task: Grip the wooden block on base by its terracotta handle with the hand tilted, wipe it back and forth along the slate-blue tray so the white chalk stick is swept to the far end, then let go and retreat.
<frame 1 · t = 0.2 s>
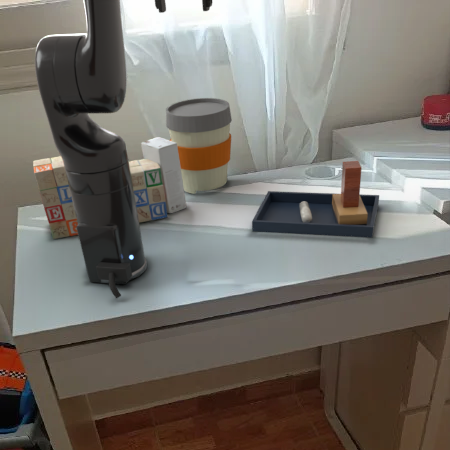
hand: (184, 11, 112), 29 cm above the table, tool pointing down, fingers open, 8 cm apart
cosmetic box: (168, 208, 116), on the table, touching stack of blocks
reusable coffee cup: (204, 186, 124), on the table
stack of blocks: (109, 223, 113), on the table, touching cosmetic box
tray: (316, 222, 107), on the table
chalk: (305, 217, 107), point 1 cm above the table, touching tray
wooden block on base: (348, 219, 105), point 1 cm above the table, touching tray
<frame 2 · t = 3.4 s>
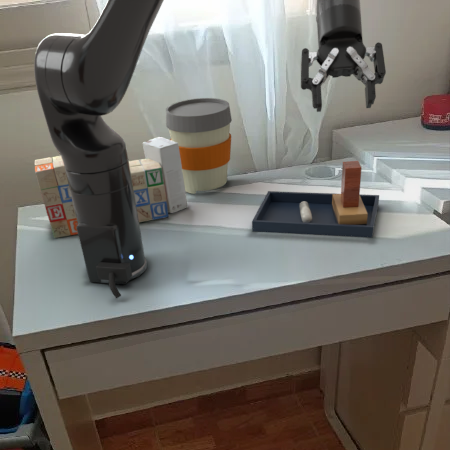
hand: (344, 107, 104), 16 cm above the table, tool tilted 45°, fingers open, 8 cm apart
nothing on the table moved.
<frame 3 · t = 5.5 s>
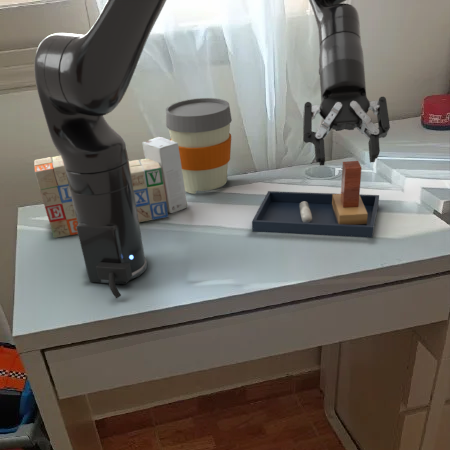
hand: (347, 161, 102), 9 cm above the table, tool tilted 45°, fingers open, 8 cm apart
stack of blocks: (110, 222, 113), on the table, touching cosmetic box
everything else where it was.
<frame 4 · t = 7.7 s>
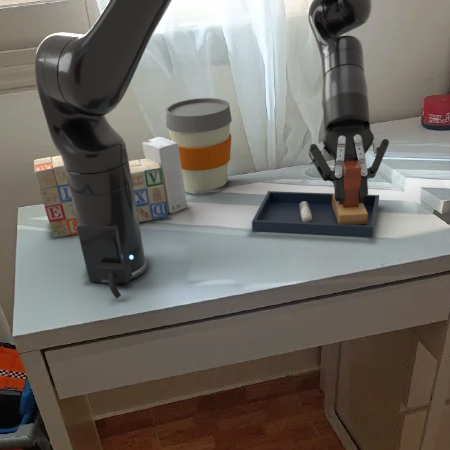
hand: (351, 201, 101), 5 cm above the table, tool tilted 45°, fingers closed on wooden block on base, 2 cm apart
stack of blocks: (109, 222, 113), on the table, touching cosmetic box
wooden block on base: (348, 219, 105), point 1 cm above the table, touching gripper, tray
everything else where it was.
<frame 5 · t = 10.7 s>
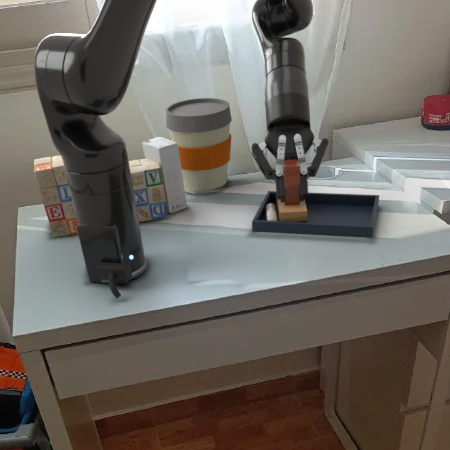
hand: (292, 199, 103), 5 cm above the table, tool tilted 45°, fingers closed on wooden block on base, 2 cm apart
stack of blocks: (109, 222, 113), on the table, touching cosmetic box
chalk: (273, 218, 107), point 1 cm above the table, tilted 20°, touching tray
wooden block on base: (291, 216, 107), point 1 cm above the table, touching gripper
everything else where it was.
when the fingers open (5 cm above the table, at t = 14.1 s): wooden block on base stays where it is, resting on tray.
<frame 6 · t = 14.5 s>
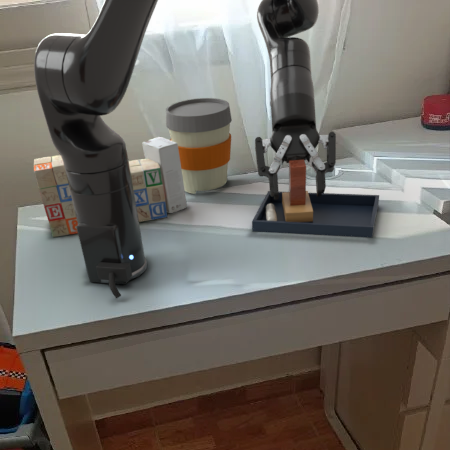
hand: (298, 196, 103), 5 cm above the table, tool tilted 45°, fingers open, 6 cm apart
stack of blocks: (109, 222, 113), on the table, touching cosmetic box
wooden block on base: (297, 216, 107), point 1 cm above the table, touching tray
everything else where it was.
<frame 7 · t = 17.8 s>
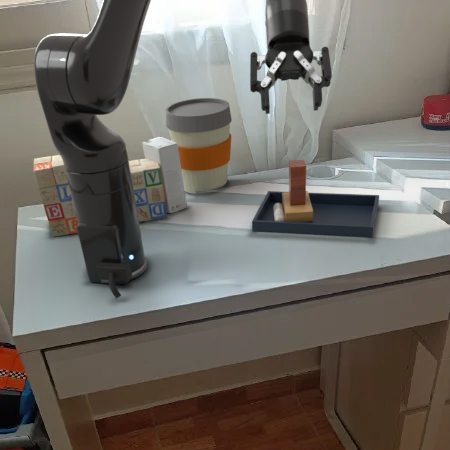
hand: (292, 109, 107), 15 cm above the table, tool tilted 45°, fingers open, 8 cm apart
chalk: (274, 216, 107), point 1 cm above the table, tilted 65°, touching tray
everything else where it was.
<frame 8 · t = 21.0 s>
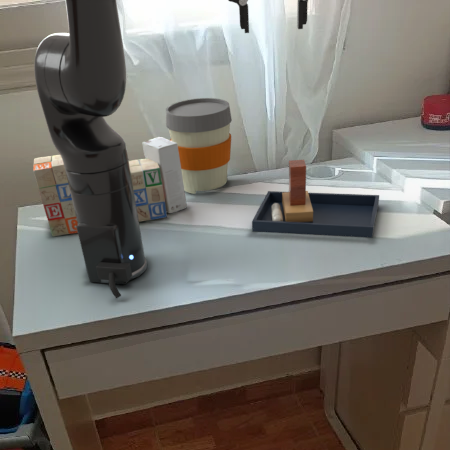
hand: (273, 30, 97), 28 cm above the table, tool pointing down, fingers open, 8 cm apart
chalk: (273, 217, 107), point 1 cm above the table, tilted 42°, touching tray
everything else where it was.
at the end: chalk inside the target area in the tray (1.4 cm from its centre), point 1.0 cm above the tray's base; wooden block on base 0.2 cm from the target spot in the tray, point 0.8 cm above the tray's base; wooden block on base tilted 0° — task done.
